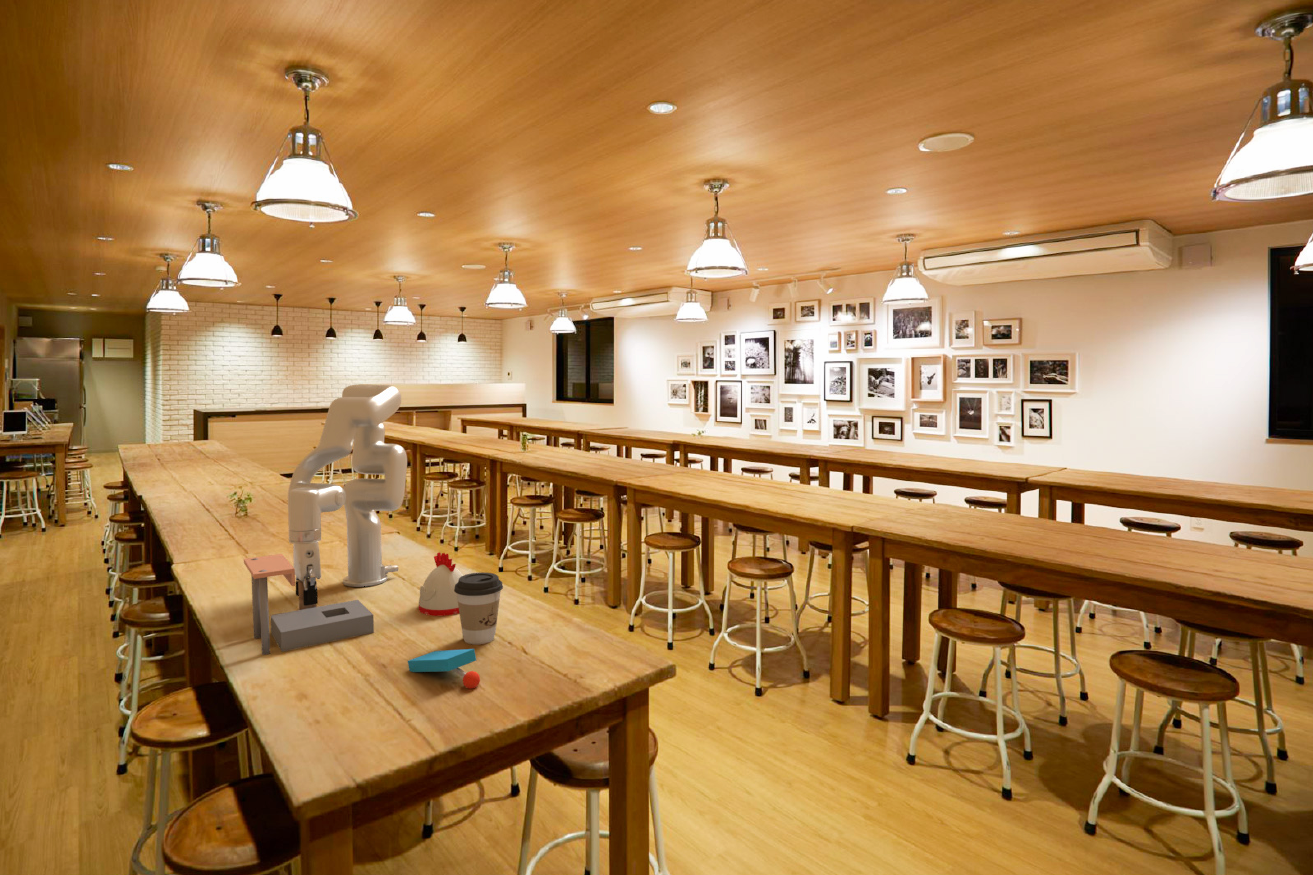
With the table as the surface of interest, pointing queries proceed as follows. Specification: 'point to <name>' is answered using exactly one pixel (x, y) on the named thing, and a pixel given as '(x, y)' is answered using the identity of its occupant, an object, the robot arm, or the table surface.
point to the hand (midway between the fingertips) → (306, 599)
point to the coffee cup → (478, 606)
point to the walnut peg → (301, 604)
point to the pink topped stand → (265, 591)
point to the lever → (447, 664)
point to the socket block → (321, 624)
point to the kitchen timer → (440, 588)
